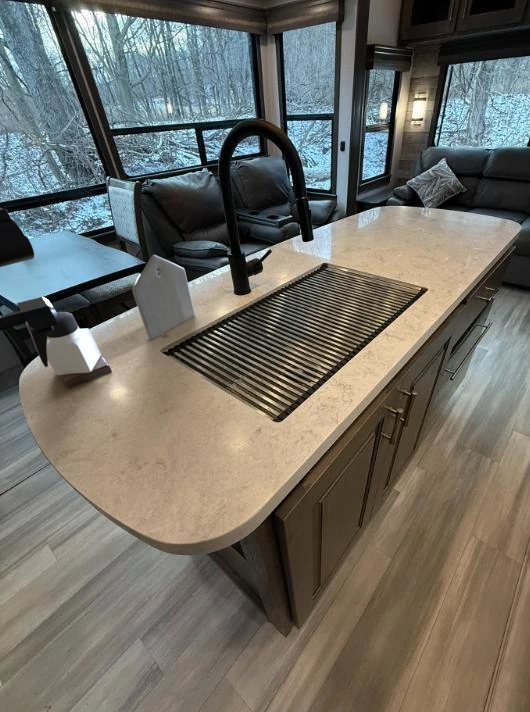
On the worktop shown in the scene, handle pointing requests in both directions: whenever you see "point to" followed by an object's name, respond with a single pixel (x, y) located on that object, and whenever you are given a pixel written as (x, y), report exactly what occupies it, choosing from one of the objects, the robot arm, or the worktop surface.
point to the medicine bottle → (71, 347)
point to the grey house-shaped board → (162, 296)
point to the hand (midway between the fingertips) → (13, 377)
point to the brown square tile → (87, 374)
